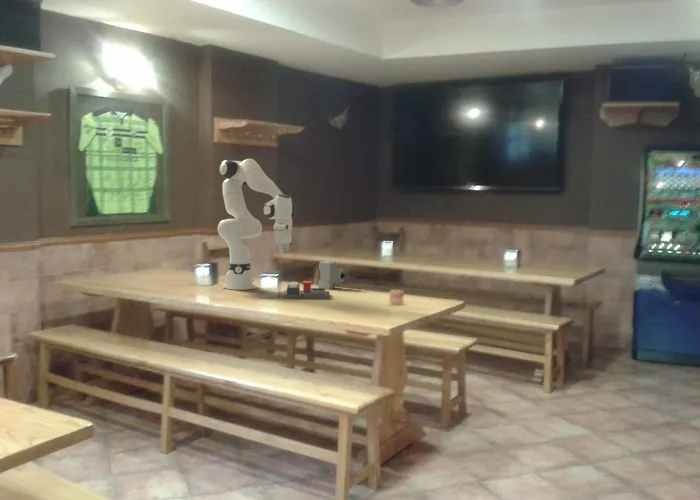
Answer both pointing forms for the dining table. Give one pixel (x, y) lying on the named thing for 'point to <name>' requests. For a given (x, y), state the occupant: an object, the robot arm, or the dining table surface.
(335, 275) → the circuit breaker
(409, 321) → the dining table surface
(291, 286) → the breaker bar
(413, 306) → the dining table surface
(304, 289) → the lockout cap
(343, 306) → the dining table surface
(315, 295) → the breaker panel
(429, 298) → the dining table surface
